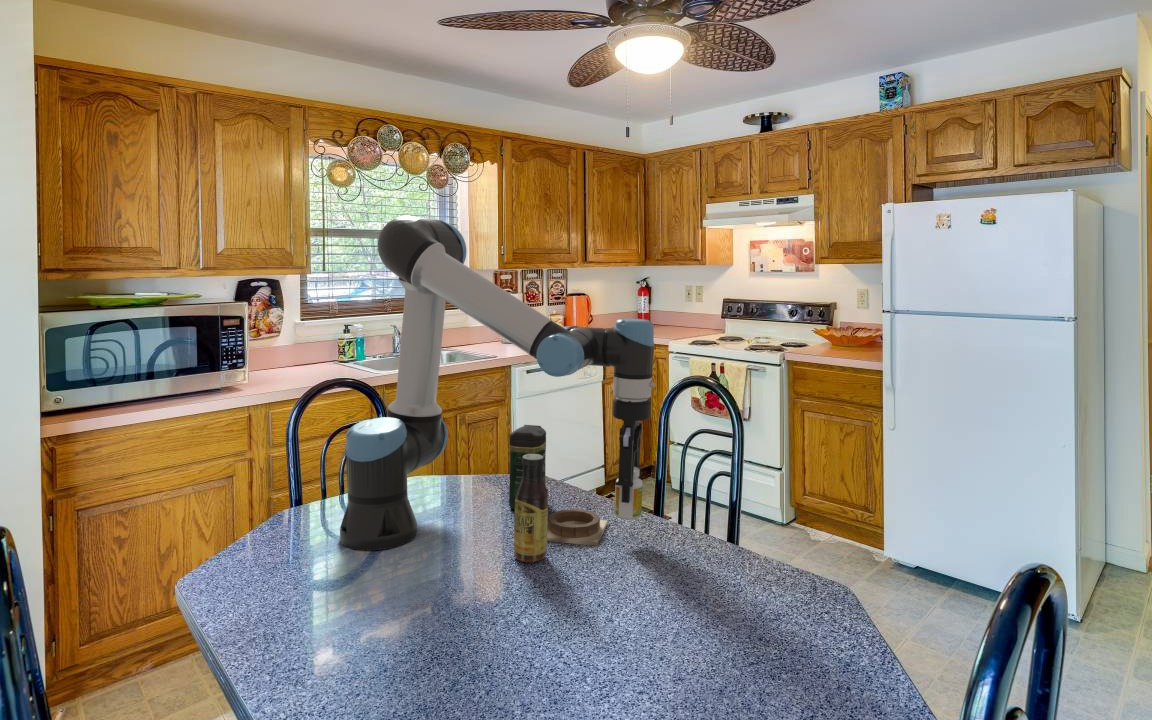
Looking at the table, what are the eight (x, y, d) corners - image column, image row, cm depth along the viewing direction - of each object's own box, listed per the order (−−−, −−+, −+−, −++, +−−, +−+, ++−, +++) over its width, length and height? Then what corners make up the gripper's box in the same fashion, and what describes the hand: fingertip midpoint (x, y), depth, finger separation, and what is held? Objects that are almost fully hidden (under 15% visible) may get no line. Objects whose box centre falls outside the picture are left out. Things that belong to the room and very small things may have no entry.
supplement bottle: (642, 520, 135) (644, 473, 134) (615, 520, 135) (616, 472, 134) (640, 511, 141) (642, 465, 139) (614, 510, 141) (615, 464, 139)
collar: (538, 539, 139) (538, 525, 138) (553, 519, 150) (553, 505, 150) (596, 545, 136) (596, 531, 136) (607, 524, 148) (607, 510, 147)
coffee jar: (539, 514, 153) (539, 432, 151) (505, 511, 155) (504, 430, 152) (549, 500, 163) (549, 423, 160) (517, 497, 164) (517, 421, 162)
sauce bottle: (507, 557, 130) (506, 455, 128) (531, 548, 135) (530, 449, 132) (530, 567, 126) (530, 462, 123) (554, 557, 130) (555, 455, 128)
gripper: (645, 408, 125) (640, 530, 128) (656, 391, 143) (652, 498, 146) (604, 405, 127) (600, 526, 130) (620, 388, 144) (617, 495, 148)
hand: (628, 511), depth 138 cm, fingers closed on supplement bottle, 5 cm apart
